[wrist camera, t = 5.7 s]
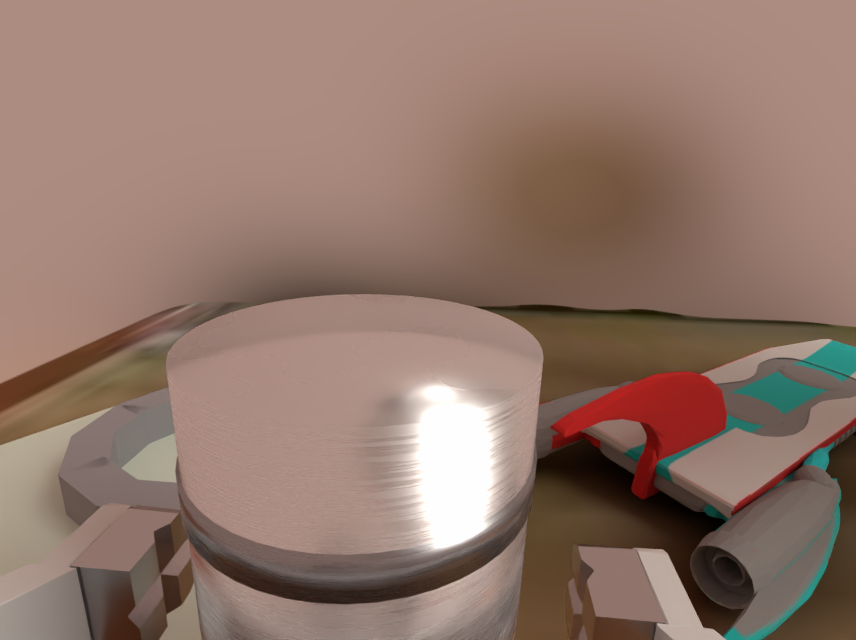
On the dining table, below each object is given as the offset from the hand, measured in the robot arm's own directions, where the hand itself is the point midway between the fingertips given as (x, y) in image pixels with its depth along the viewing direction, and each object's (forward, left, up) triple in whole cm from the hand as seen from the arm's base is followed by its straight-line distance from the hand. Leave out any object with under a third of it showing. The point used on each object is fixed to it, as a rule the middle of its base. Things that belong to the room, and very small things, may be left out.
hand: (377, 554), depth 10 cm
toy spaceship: (-20, +4, -5) cm, 21 cm away
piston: (+1, 0, -6) cm, 6 cm away
